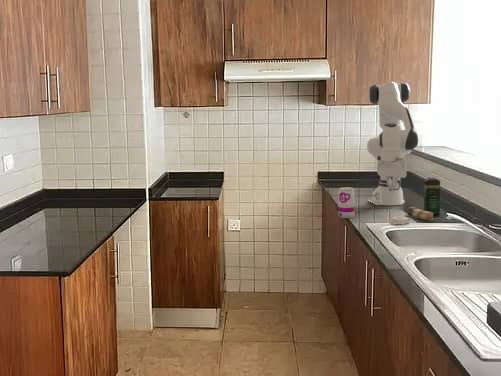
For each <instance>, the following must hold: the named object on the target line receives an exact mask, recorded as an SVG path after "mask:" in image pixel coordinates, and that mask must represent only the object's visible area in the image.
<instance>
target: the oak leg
mask: <svg viewBox="0 0 501 376" xmlns="http://www.w3.org/2000/svg"><path fill="white" fill-rule="evenodd" d="M407 214H408V215H413V216H417V217H421V218H425V219H434V215H433V213H432V212H428V211H424V209H420V208H418V207H414V206H409V207H407Z"/></svg>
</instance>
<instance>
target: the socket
mask: <svg viewBox="0 0 501 376" xmlns="http://www.w3.org/2000/svg"><path fill="white" fill-rule="evenodd" d="M393 223H396V224H402V223H409V224H410V218H408V217H404V216H394V217H390V224H393ZM396 224H395V225H396ZM402 225H403V224H402Z"/></svg>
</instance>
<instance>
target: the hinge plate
mask: <svg viewBox="0 0 501 376" xmlns="http://www.w3.org/2000/svg"><path fill="white" fill-rule="evenodd" d="M405 216H406V217H411V218H416V219H420V220H424V221H435V218H433V219H425V218H421V217H417V216H413V215H408V213H407V214H406V215H405Z"/></svg>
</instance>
